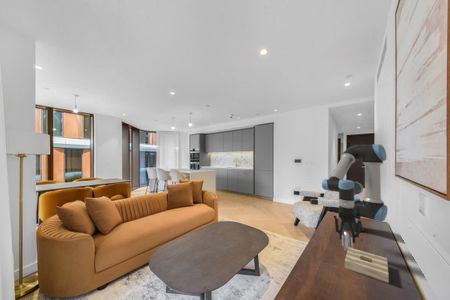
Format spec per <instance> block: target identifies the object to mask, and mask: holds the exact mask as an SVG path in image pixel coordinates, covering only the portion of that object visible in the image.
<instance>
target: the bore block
mask: <svg viewBox="0 0 450 300" xmlns="http://www.w3.org/2000/svg"><path fill="white" fill-rule="evenodd" d="M344 269H347V270H350V271H351V272H352V271H353V272H354V273H358V274H360V275H363V276H366V277H369V278H372V279H375V280H377V281H381V282H383V283H386V284H389V282H390V281H389V265H388V258H387V257H384V256H381V255H377V254H374V253H370V252H367V251H363V250H359V249H355V248H354V247H353V248H348V251H347V252H346V255H345V259H344Z"/></svg>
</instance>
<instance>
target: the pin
mask: <svg viewBox="0 0 450 300" xmlns="http://www.w3.org/2000/svg"><path fill="white" fill-rule="evenodd" d="M343 234H344V246H343V251H344V252H345V253H347V251H348V248H351V236H352V233H351V231H350V230H343Z"/></svg>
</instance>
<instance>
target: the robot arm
mask: <svg viewBox="0 0 450 300" xmlns="http://www.w3.org/2000/svg"><path fill="white" fill-rule="evenodd" d="M386 160H387V152H386V149H385V147H384V145H382V144H379V143H377V144H376V143H375V144H374V143H373V144H372V143H371V144H356V145H352V146H350V147H348V148H347V149H345V150H344V151H343V152H342V154H341V155H340V160H339V162H338V163H337V164H336V166H335V168H334V170H333V171H332V173H331V175H330V176H329V178H326V179H322V180H321V181H322V182H321V187H322V189H323V190H326V191H327V192H328V191H330V192H335V193H338V205H339V206H338V212H339V213H338V214H334V215H333V219H334V224H335V225H334V226H335V233H338V234H339V240H341V246H342V247H344V230H345V231H349V232H350V233H351V248H353V249H354V244H355V243H356V238H359V237H360V232H364V228H365V227H364V224H363V222H362V218H364V219H369V220H372V221H377V222H384V221H385V219H386V217H387V216H388V209H389V208H388V206H387V205H386V204H385V203H384V201H383V200H382V196H381V195H382V194H381V193H382V191H381V188H382V187H381V165H383V162H384V161H386ZM356 161H361V163H362V164H363V165H364V186H363V184H361V183H360V182H358V181H353V180H351V179H344V178H345V176H346V174H347V173H348V171H349V169H350V167H351V166H352V164H353V163H355V162H356ZM363 191H365V192H364V196H365V197H363V198H362V200H361V199H360V197H355V195H359V194H361V193H362V192H363ZM339 219H340V222H339ZM339 227H340V228H339Z"/></svg>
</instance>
